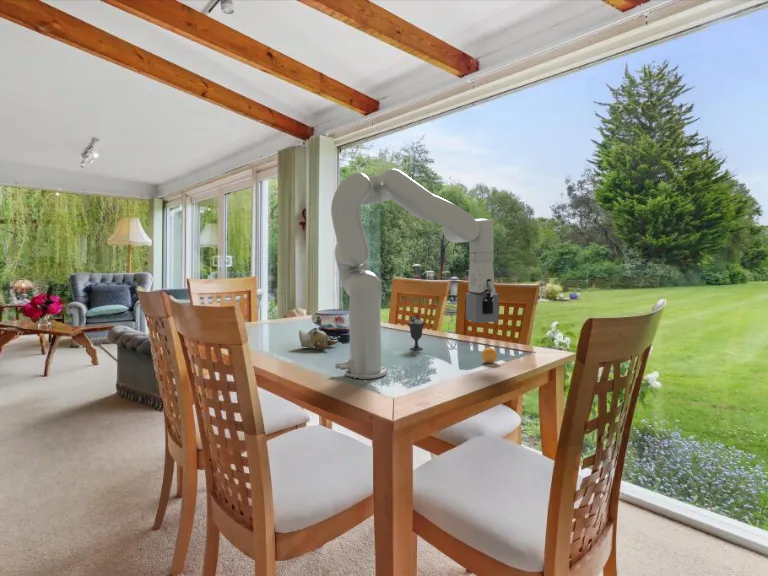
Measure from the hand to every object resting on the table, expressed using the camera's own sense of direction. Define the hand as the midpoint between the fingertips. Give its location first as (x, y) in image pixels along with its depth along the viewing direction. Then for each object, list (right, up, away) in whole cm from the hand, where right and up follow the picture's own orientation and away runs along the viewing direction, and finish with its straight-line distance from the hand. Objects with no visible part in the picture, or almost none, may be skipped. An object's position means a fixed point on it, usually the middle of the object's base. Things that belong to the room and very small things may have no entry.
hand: (481, 311), depth 141 cm
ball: (+3, -14, +2) cm, 15 cm away
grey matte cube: (0, -3, 0) cm, 3 cm away
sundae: (-19, -16, +24) cm, 35 cm away
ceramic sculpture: (-58, -16, +29) cm, 67 cm away
